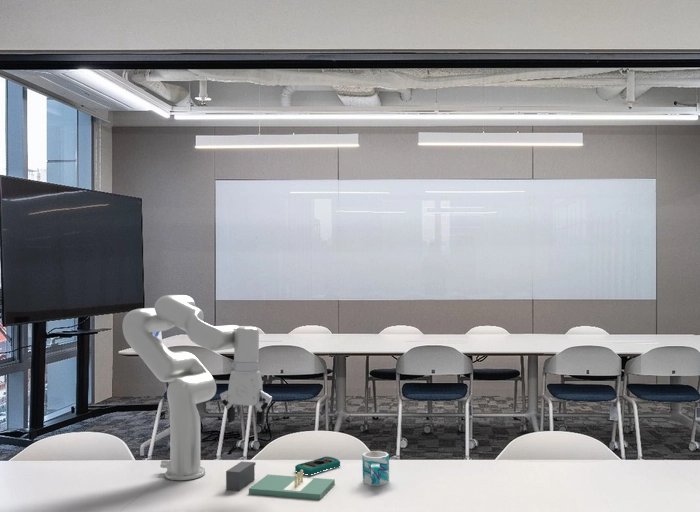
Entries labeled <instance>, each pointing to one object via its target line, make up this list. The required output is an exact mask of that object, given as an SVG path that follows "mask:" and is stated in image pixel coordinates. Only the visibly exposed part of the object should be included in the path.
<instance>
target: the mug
mask: <svg viewBox="0 0 700 512" xmlns="http://www.w3.org/2000/svg"><path fill="white" fill-rule="evenodd" d="M361 455H362V456H361V458H362V459H361V460H362V482H363V483H364V484H366V485H369V486H383V485H387V484H388V483H390V454H389V453H388V452H387V451H381V450H371V451H370V450H368V451H364V452H363V453H362V454H361Z"/></svg>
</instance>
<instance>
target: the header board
mask: <svg viewBox="0 0 700 512" xmlns="http://www.w3.org/2000/svg"><path fill="white" fill-rule="evenodd" d="M296 473H297V474H294V476H291V475H281V474H280V475H279V474H267V475H265V476H264V477H262V478H261V479H260V480H258V481H257V482H256V483H255V484H253V485H252V486H250V487H248V494H249V495H258V496H269V497H271V496H272V497H280V498H281V497H284V498H295V499H296V498H297V499H303V500H305V499H306V500H307V499H308V500H316V501H318V500H319V501H320V500H322V498H323V497H324V496H325V495H326V494H328V492H329V491H330V490H331V489H332V488H333V487H334V486H335V483H336V482H335V479H334V478H333V479H332V478H323V477H322V478H319V477H310V476H308V477H307V476H306V477H304V475H303V470H300V472H296Z"/></svg>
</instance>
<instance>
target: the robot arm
mask: <svg viewBox="0 0 700 512" xmlns="http://www.w3.org/2000/svg"><path fill="white" fill-rule="evenodd" d="M174 327H177V328H179V329H180V330H182V331H185V333H186V336H187V337H188V339H189V340H190V341H192V343H194V344H196V345H198V346H199V347H202V349H203V348H204V349H206V350H208V351H212V352H216V351H218V352H219V351H224V350H230V349H231V350H232V349H233V350H234V351H233V361H232V362H230V363H229V365H230V366H229V367H232V368H233V370H232V371H231V372H230V376H229V380H228V381H229V382H228V390H225V391H224V392H221V393H220V394H219V396H220V399H221V401H222V404H223V406H225V409H226V411H227V413H226V414H227V415H226V416H227V417H226V418H227V423H232V422H234V421H235V420H236V419H235V418H236V408H235V405H237V406H238V405H239V406H249V407H251V406H254V407H255V408H256V409H257V412H256V416H255V417H256V422H255V423H256V424H255V425H258V426H259V425H262V424H263V423H264V421H265V411H266V409H267V408H268V407H269V406H270V404H271V401H272V400H273V396H271V395H269V394H268V393H266V392H265V391H263V390H264V389H263V380H262V373H261V371H260V370H259V367H260V366H259V362H260V360H259V358H260V357H259V353H260V352H259V351H260V349H259V348H260V347H259V346H260V343H259V342H260V332H259V329H258V328H257V327H256V326H241V325H237V324H226V325H215V326H214V325H211V324H209V323H207V322H204V312H203V310H202V309H200V308H199V307H197V306H196V303H195V300H194V299H193V298H192V297H191V296H189V295H186V294H167V295H163V296H161V297H159V298H158V299H157V301H155V303H154V307H144V308H143V307H142V308H140V307H139V308H136V309H132V310H130V311H129V312H127V313H126V314H125V316H124V317H123V320H122V333H123V337H124V339H125V341H126V343H127V344H128V346H130V347H131V349H132V350H133V351H134V352H135V353H136V354H137V355H138V356H139V357H140V358H141V359H142V361H143V363H144V364H145V365H146V366H147V367H148V369H149V370H150V371H151V372H152V374H153V375H154V376H155V377H156V379H158V380H159V382H163V383H169V384H168V386H167V390H166V396H167V397H166V399H167V402H168V408H169V409H168V410H169V416H170V417H169V425H170V426H169V427H170V429H169V431H170V433H169V436H170V438H169V439H170V441H169V445H170V446H169V447H170V449H169V450H170V451H169V460H167V459H162V460H161V462H160V465H159V467H160V468H161V469H162V468H163V469H165V468H166V471H165V473H164V476H165V478H166V479H168V480H172V481H189V480H194V479H199V478H201V477H203V476H204V475H205V474H206V468H204V467H202V466H201V416H200V412H199V410H198V407H197V404H201V403H204V402H207V401H210V400H211V399H212V398H214V396H215V395H216V393H217V383H216V380H215V378H214V377H213V375H212V374H211V373H210V372H209V371H208V369H207V368H206V367H205V366H204V365H203V363H202V362H201V361H200V360H199V359H198V357H196V355H194V354H193V353H191V352H189V351H185V350H181V351H171V350H170V349H169V347H167V346H166V345H165V343H164V341H162V340H161V339H159V338H158V337H156V336H155V335H153V334H152V333H157V332H166V331H168V330H170V329H172V328H174ZM263 399H264V400H265V402H263Z"/></svg>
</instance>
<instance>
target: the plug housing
mask: <svg viewBox="0 0 700 512" xmlns="http://www.w3.org/2000/svg"><path fill="white" fill-rule="evenodd" d="M255 466H256V461H240V462H238V463H237V464H235V465H234V466H232V467H231V468H230V467H229V469H227V470H226V471H225V489H226V491H237V492H240V491H242V490H243V489H244V488H246V487H248V485H250V484H251V483H253V482H254V481H255V479H256V478H255Z"/></svg>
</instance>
